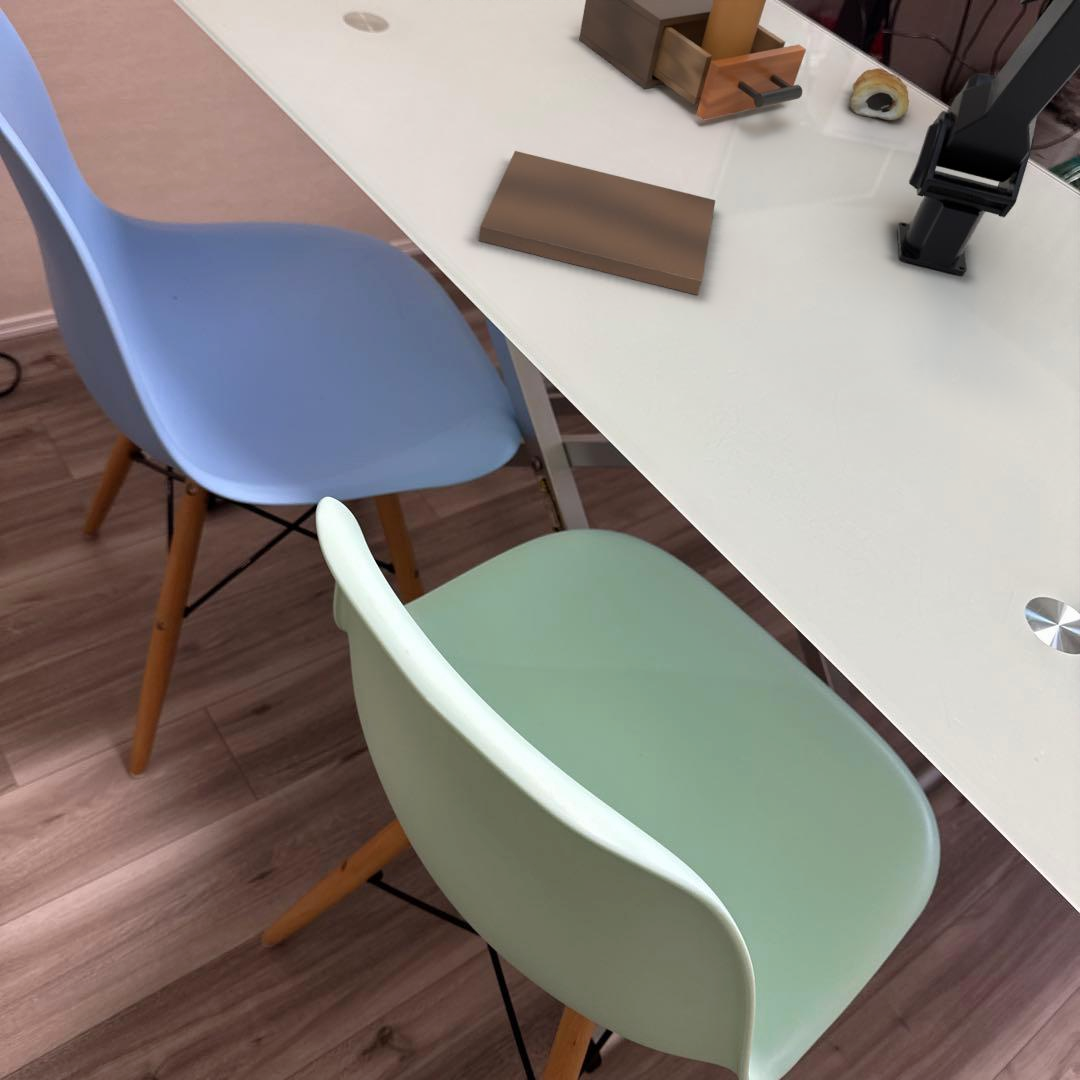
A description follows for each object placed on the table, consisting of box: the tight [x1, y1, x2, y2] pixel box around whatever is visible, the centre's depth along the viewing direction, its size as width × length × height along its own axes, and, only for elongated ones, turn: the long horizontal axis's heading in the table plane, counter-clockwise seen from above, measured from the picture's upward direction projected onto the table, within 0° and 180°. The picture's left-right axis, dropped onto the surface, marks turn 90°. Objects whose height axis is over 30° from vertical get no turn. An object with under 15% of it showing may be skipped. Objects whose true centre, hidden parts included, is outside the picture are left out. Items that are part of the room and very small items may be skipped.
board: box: [478, 150, 716, 296], centre depth 91 cm, size 14×20×2 cm
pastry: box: [850, 68, 910, 121], centre depth 116 cm, size 9×7×4 cm
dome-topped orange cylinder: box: [701, 0, 767, 82], centre depth 106 cm, size 5×5×12 cm
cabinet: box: [578, 0, 713, 90], centre depth 114 cm, size 13×15×8 cm
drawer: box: [653, 19, 807, 121], centre depth 109 cm, size 16×13×6 cm
